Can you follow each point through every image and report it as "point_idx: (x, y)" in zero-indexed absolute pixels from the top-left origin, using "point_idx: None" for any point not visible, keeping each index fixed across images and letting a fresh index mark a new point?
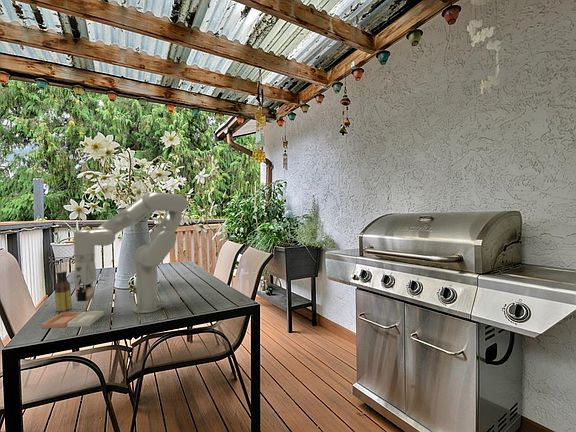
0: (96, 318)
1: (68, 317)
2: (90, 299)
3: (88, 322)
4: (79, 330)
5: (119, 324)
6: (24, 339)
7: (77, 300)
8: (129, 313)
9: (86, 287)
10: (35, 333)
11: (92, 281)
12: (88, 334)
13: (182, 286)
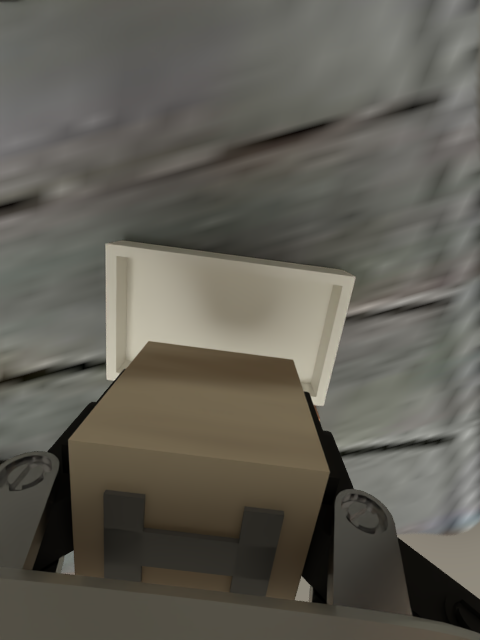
0: (239, 258)
1: None
2: (238, 354)
3: (353, 280)
4: (367, 313)
5: (352, 52)
6: (390, 509)
7: None
8: (82, 27)
9: (138, 542)
10: None
11: (97, 620)
12: (469, 236)
13: None
